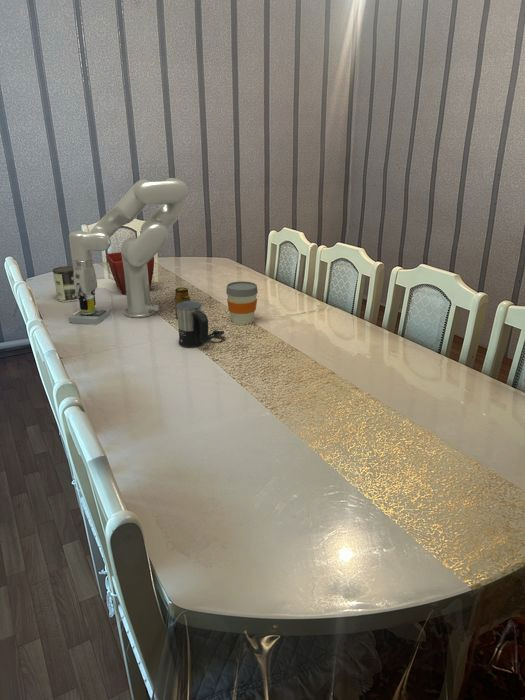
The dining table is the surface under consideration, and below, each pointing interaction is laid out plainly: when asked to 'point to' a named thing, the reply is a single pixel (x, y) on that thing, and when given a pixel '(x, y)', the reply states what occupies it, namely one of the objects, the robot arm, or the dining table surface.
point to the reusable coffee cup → (242, 301)
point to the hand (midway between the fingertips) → (88, 306)
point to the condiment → (180, 297)
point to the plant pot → (118, 270)
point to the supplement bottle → (89, 304)
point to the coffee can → (65, 283)
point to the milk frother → (193, 325)
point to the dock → (90, 316)
